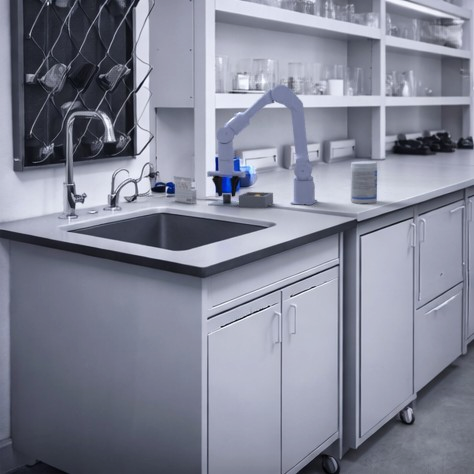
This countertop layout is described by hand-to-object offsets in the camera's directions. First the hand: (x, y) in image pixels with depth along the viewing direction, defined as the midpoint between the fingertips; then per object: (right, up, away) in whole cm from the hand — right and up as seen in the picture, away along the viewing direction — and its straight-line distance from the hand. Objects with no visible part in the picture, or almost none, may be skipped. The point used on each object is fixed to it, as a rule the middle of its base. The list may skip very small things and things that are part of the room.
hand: (226, 196), depth 255 cm
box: (+11, -4, -5) cm, 12 cm away
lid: (0, -3, +1) cm, 3 cm away
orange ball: (+11, -1, -4) cm, 12 cm away
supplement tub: (+51, -3, -4) cm, 51 cm away
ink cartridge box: (-16, -2, +6) cm, 17 cm away
